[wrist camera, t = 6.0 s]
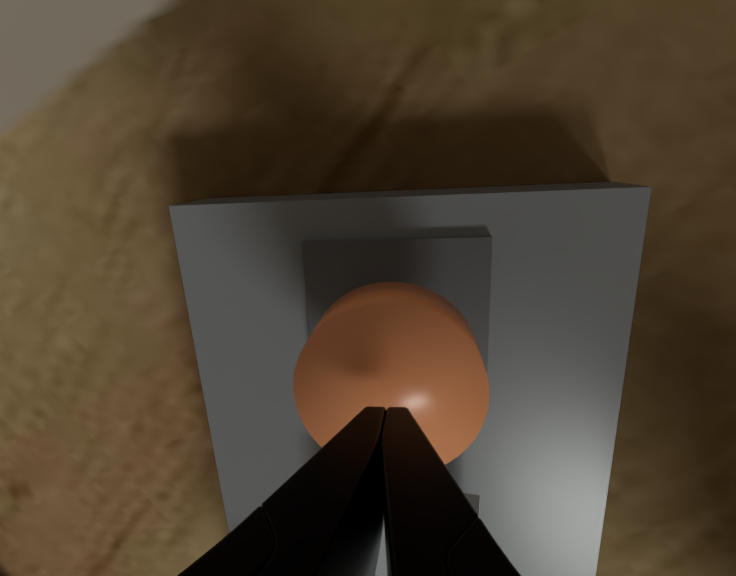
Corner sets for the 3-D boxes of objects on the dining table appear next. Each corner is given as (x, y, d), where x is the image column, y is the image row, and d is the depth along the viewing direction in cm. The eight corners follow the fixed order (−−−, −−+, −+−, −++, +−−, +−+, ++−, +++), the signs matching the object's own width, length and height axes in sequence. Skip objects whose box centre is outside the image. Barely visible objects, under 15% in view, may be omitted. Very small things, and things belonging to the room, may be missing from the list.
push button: (476, 269, 11) (493, 301, 9) (472, 415, 12) (486, 480, 10) (311, 272, 12) (283, 303, 9) (324, 412, 13) (302, 472, 10)
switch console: (611, 181, 14) (657, 187, 11) (556, 653, 20) (577, 728, 18) (206, 198, 16) (163, 207, 13) (274, 628, 22) (254, 693, 19)
